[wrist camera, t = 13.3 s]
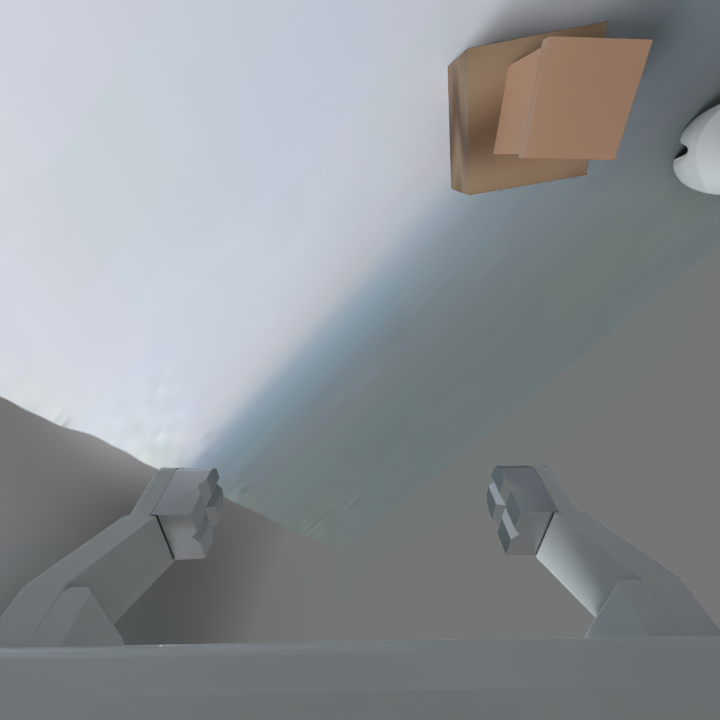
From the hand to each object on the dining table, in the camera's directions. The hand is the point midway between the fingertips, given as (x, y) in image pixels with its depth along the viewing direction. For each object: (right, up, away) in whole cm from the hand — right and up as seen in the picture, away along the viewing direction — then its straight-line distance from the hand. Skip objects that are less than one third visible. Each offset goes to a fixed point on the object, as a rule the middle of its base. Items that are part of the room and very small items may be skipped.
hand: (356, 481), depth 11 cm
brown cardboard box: (+13, +21, +15) cm, 29 cm away
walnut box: (+12, +24, +20) cm, 34 cm away
